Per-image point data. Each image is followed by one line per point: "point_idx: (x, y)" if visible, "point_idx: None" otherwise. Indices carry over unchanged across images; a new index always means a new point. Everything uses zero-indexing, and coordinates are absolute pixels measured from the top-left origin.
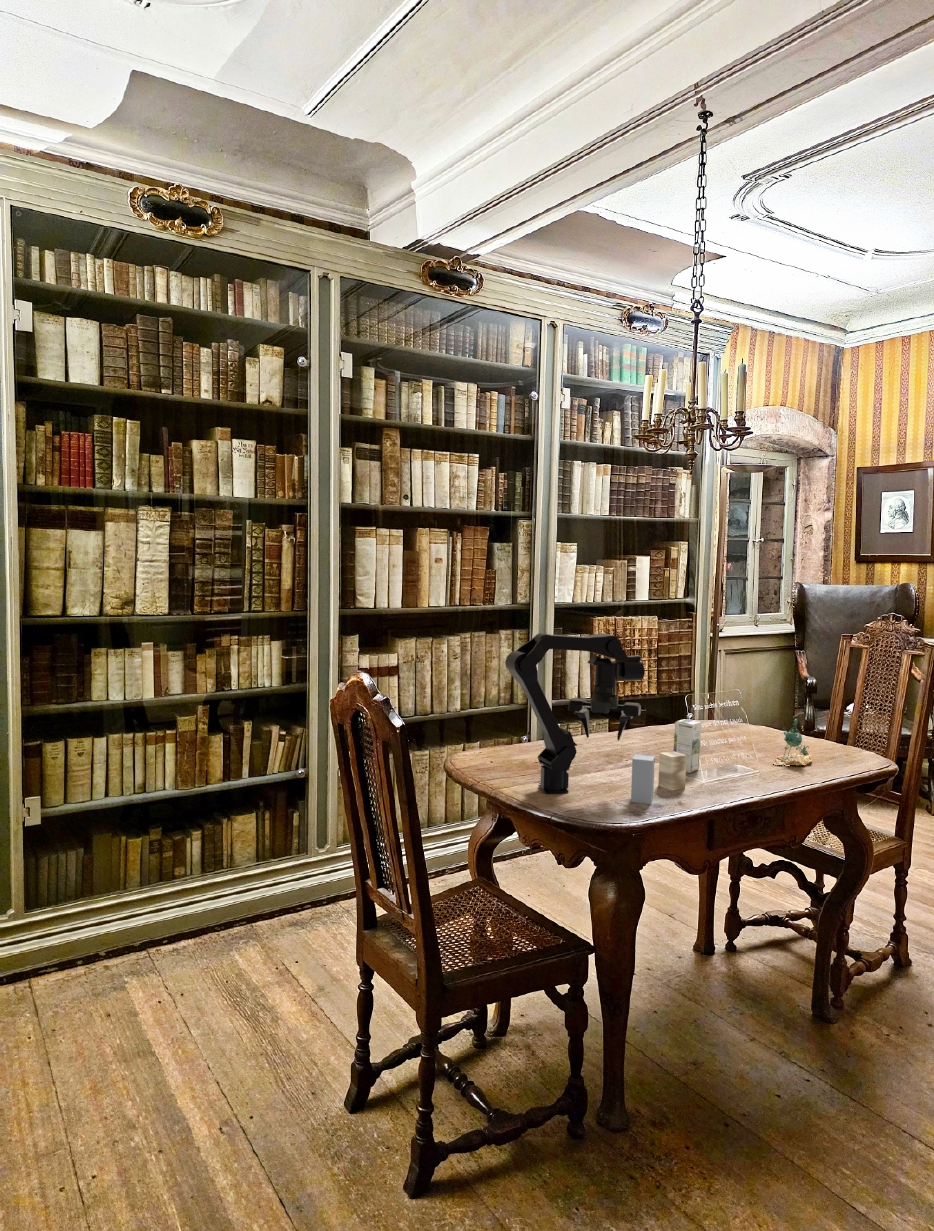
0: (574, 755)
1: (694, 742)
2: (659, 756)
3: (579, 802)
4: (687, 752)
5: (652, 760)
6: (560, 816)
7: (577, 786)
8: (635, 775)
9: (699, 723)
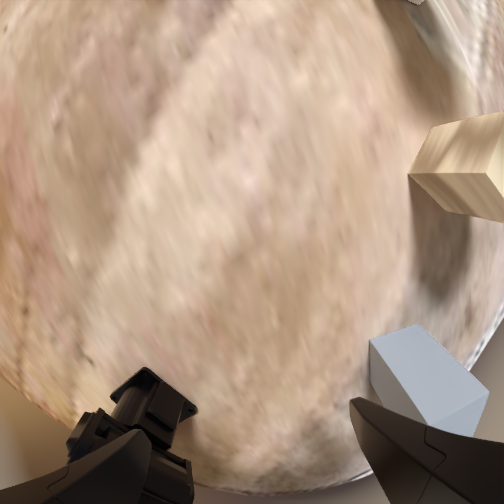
0: (185, 478)
1: None
2: (474, 173)
3: (257, 444)
4: None
5: (471, 435)
6: (261, 495)
7: (181, 342)
8: None
9: None
